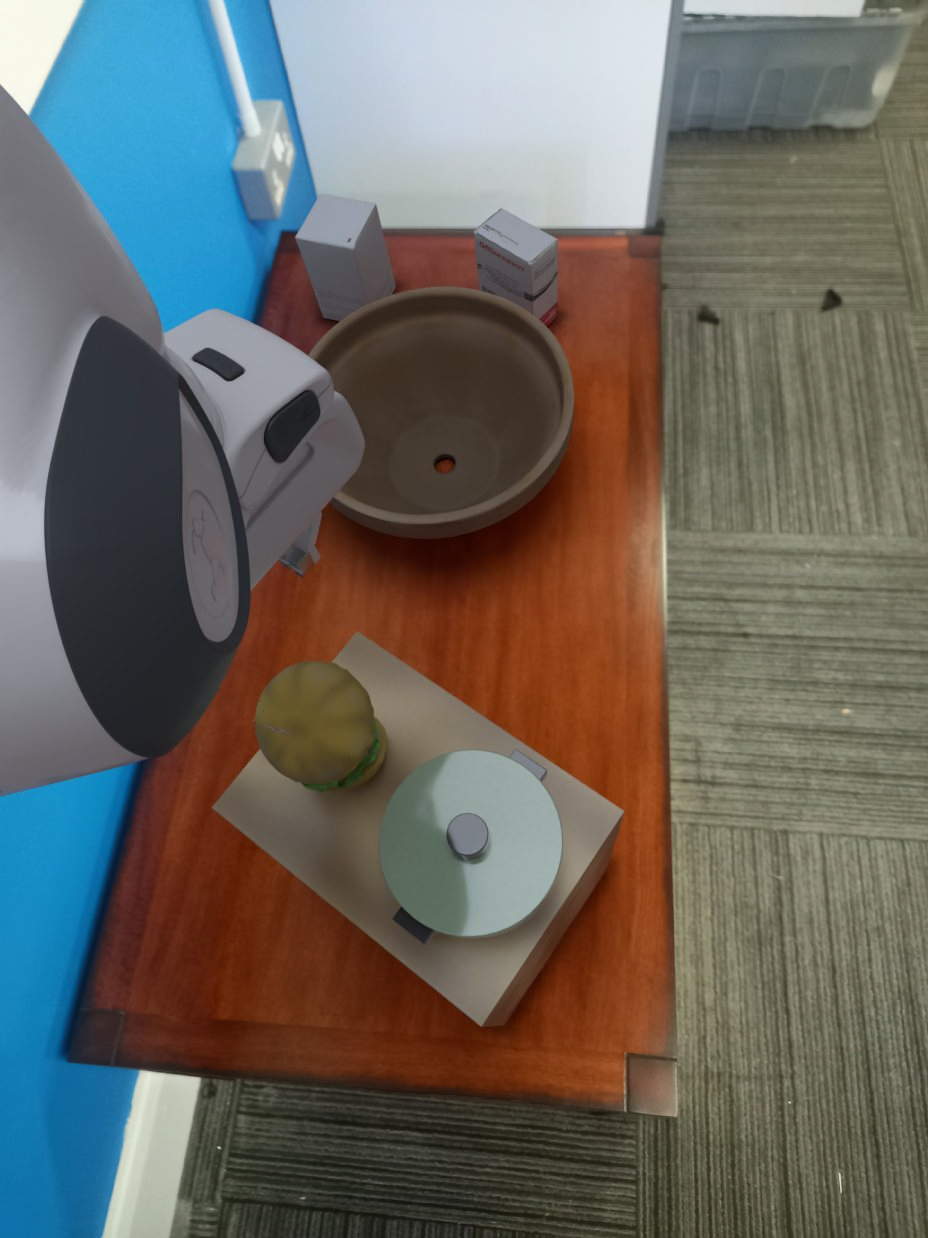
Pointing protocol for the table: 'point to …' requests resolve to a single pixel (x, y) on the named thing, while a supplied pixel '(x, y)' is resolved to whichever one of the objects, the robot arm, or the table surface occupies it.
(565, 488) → the table surface
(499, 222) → the ink box
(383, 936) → the stand
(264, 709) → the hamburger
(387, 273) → the white packaging box
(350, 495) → the flower pot
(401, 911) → the pot
